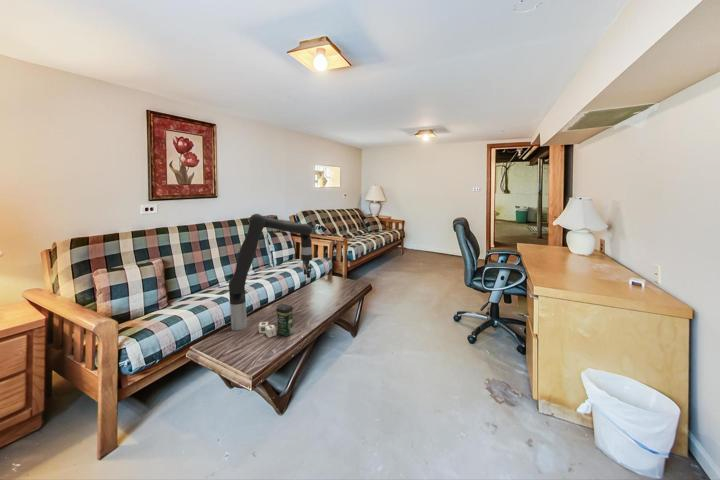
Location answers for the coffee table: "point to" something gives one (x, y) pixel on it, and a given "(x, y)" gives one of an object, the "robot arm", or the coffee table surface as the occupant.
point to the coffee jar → (284, 319)
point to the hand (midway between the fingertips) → (306, 276)
